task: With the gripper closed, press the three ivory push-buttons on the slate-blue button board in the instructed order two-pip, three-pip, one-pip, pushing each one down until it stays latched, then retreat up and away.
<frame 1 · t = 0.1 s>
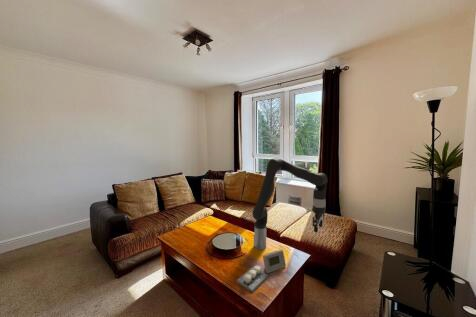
hand: (318, 229, 126), 29 cm above the table, fingers open, 8 cm apart
button 1: (247, 279, 119), point 3 cm above the table, slide at 0.0 cm
button 3: (257, 270, 127), point 3 cm above the table, slide at 0.0 cm
digital clock: (274, 268, 134), on the table
button 2: (252, 274, 123), point 3 cm above the table, slide at 0.0 cm
button board: (252, 279, 124), on the table
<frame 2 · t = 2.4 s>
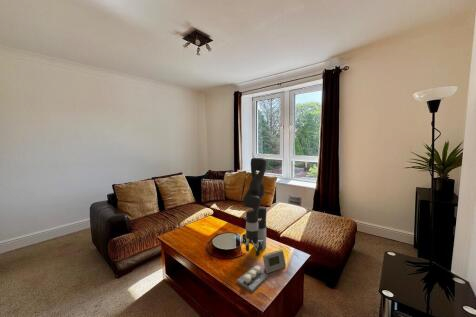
hand: (252, 253, 121), 18 cm above the table, fingers open, 7 cm apart
nothing on the table moved.
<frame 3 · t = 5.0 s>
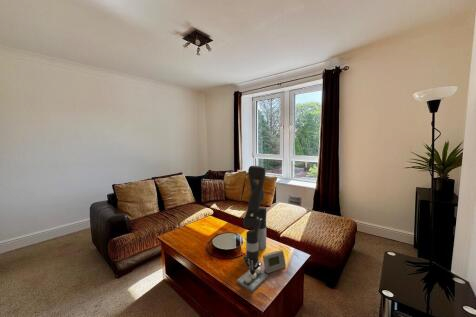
hand: (252, 273, 123), 4 cm above the table, fingers closed
button 2: (252, 276, 123), point 2 cm above the table, slide at 1.0 cm, touching gripper
everything else where it was.
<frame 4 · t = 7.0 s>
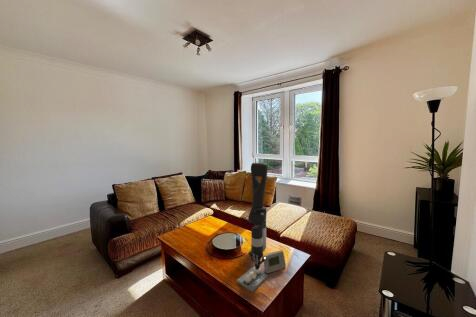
hand: (257, 268, 126), 5 cm above the table, fingers closed
button 3: (257, 270, 127), point 3 cm above the table, slide at 0.1 cm, touching gripper
button 2: (252, 276, 123), point 2 cm above the table, slide at 1.2 cm
everything else where it was.
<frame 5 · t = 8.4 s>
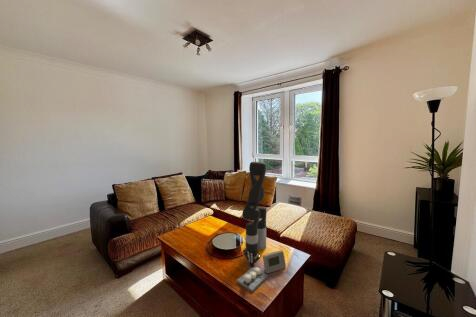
hand: (251, 267, 121), 10 cm above the table, fingers closed
button 3: (257, 272, 127), point 2 cm above the table, slide at 1.2 cm
everything else where it was.
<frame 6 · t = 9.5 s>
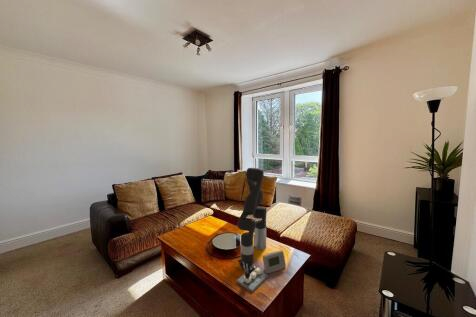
hand: (247, 277, 119), 5 cm above the table, fingers closed
button 1: (247, 279, 119), point 3 cm above the table, slide at 0.3 cm, touching gripper
everything else where it was.
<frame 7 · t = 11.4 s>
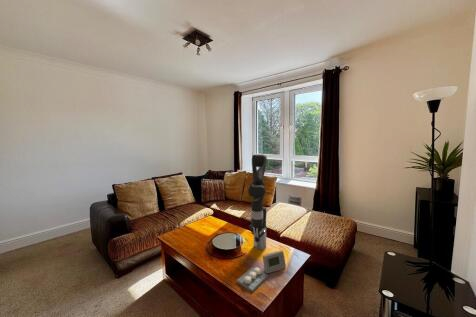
hand: (257, 241, 127), 22 cm above the table, fingers closed
button 1: (247, 281, 120), point 2 cm above the table, slide at 1.2 cm
everything else where it was.
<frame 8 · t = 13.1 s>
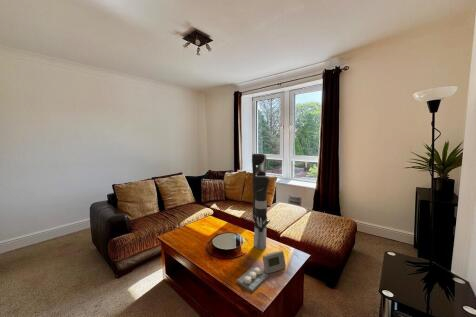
hand: (261, 231, 129), 27 cm above the table, fingers closed
nothing on the table moved.
at the end: button 2 slide at 1.2 cm; button 3 slide at 1.2 cm; button 1 slide at 1.2 cm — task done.
